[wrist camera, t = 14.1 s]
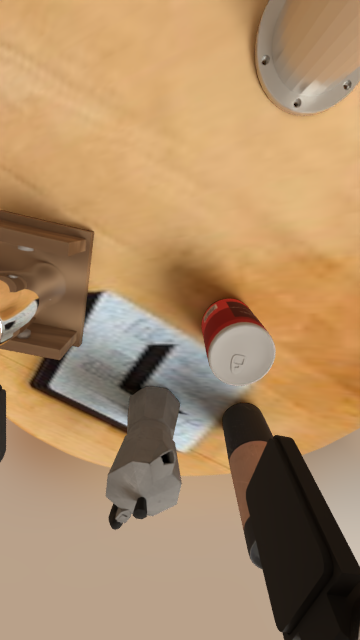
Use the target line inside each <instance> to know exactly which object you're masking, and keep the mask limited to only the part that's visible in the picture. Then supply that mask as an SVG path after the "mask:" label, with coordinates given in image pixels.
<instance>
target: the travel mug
mask: <svg viewBox="0 0 360 640" xmlns="http://www.w3.org/2000/svg"><path fill="white" fill-rule="evenodd" d="M222 422H223V430H224V436H225V442H226V447H227V453H228V459H229V465H230V470H231V474H232V479H233V484H234V488H235V493H236V497H237V502H238V506H239V511H240V516H241V521H242V525H243V530H244V534H245V539H246V544H247V548H248V553H249V556H250V559H251V560H252V562H253V563H254V564H255V565H256V566H257V567H259V568H261V569H262V565H261V561H260V556H259V552H258V548H257V544H256V540H255V535H254V531H253V527H252V523H251V519H250V514H249V510H248V506H247V502H246V489H247V486H248V484H249V482H250V480H251V477H252V475H253V473H254V471H255V468H256V466H257V464H258V462H259V460H260V457H261V455H262V453H263V451H264V448H265V446H266V444H267V442H268V440H269V439H270V438H273V435H272V433H271V431H270V429H269V427H268V425H267V423H266V421H265V419H264V417H263V415H262V413H261V411H260V410H259V409H258V408H257V407H256V406H254V405H252V404H248V403H239V404H236V405H233V406H231V407H230V408H229V409H228V410H227V411H226V412H225V413H224V415H223V420H222Z"/></svg>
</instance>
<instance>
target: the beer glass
mask: <svg viewBox="0 0 360 640" xmlns="http://www.w3.org/2000/svg"><path fill="white" fill-rule="evenodd" d="M65 293H66V281H65V278H64V276H63V274H62V273H61V272H60V271H59V270H58V269H57V268H56V267H55V266H53V265H51V264H49V263H45V262H35V263H32V264H30V265H28V266H27V267H26V268H24V269H23V270H18V271H0V346H1V345H3V344H4V343H6V342H8V341H10V340H11V339H13V338H14V337H16V336H17V335H19V334H20V333H22V332H23V331H24V330H25V329H27V328H28V327H29V326H30V325H31V324H32V323H33V322H34V321H35V319H36V318H37V317H38V316H39V314H40V313H41V312H42V310H43V309H44V308H45V307H47V306H51V305H54V304H56V303H58V302H60V301H61V300H62V299H63V297H64V296H65Z"/></svg>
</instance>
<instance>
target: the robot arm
mask: <svg viewBox="0 0 360 640" xmlns="http://www.w3.org/2000/svg"><path fill="white" fill-rule="evenodd" d="M262 62H264V63H265V65H263V64H262ZM255 65H256V70H257V74H258V78H259V81H260V83H261V86H262V89H263V90H264V92H265V93H266V95H267V97H268V98H269V99H270V100H271V101H272V102H273V103H274V104H275V105H276V106H277V107H278V108H280V109H281V110H283V111H284V112H287V113H290V114H293V115H299V116H309V115H315V114H318V113H321V112H324V111H326V110H328V109H330V108H331V107H333V106H335V105H336V104H337V103H339V102H340V101H341V100H343V99H344V98H345V97H346V96H347V95H348V94H349V93H350V92H351V91H352V90H353V89H354V88H355V86H356V85H357V84H358V82H359V81H360V0H269V1H268V3H267V5H266V7H265V9H264V12H263V15H262V17H261V20H260V23H259V27H258V31H257V35H256V43H255ZM344 88H345V89H344ZM294 104H296V107H294ZM5 451H6V391H5V390H4V389H2V386H1V385H0V462H1V460H2V459H3V456H4V454H5ZM246 502H247V506H248V510H249V514H250V519H251V523H252V527H253V531H254V535H255V540H256V544H257V548H258V552H259V556H260V561H261V565H262V569H263V573H264V577H265V581H266V586H267V590H268V594H269V598H270V602H271V606H272V611H273V615H274V619H275V623H276V626H277V628H278V630H279V631H280V632H283V636H284V640H360V566H359V565H358V563H357V561H356V559H355V557H354V555H353V553H352V551H351V549H350V547H349V546H348V543H347V542H346V540H345V538H344V536H343V534H342V532H341V530H340V528H339V526H338V524H337V522H336V520H335V518H334V517H333V515H332V513H331V511H330V509H329V507H328V505H327V503H326V501H325V499H324V497H323V496H322V494H321V492H320V490H319V488H318V486H317V484H316V482H315V480H314V478H313V476H312V474H311V472H310V470H309V469H308V467H307V465H306V463H305V461H304V459H303V457H302V455H301V453H300V451H299V449H298V447H297V446H296V444H295V442H294V440H293V439H292V438H290V437H284V436H279V435H275V436H274V437H273V438H270V439H269V440H268V442H267V444H266V446H265V448H264V451H263V453H262V455H261V457H260V460H259V462H258V464H257V466H256V468H255V471H254V473H253V475H252V477H251V480H250V482H249V484H248V486H247V489H246Z"/></svg>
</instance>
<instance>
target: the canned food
mask: <svg viewBox="0 0 360 640" xmlns="http://www.w3.org/2000/svg"><path fill="white" fill-rule="evenodd" d="M202 333H203V338H204V343H205V348H206V353H207V358H208V362H209V366H210V368H211V370H212V372H213V373H214V375H215V376H216V377H217V378H218V379H219V380H221V381H222V382H224V383H226V384H229V385H234V386H243V385H248V384H251V383H254V382H256V381H258V380H259V379H261V378H262V377H263V376H264V375H265V374H267V372H268V371H269V370H270V368H271V366H272V364H273V362H274V359H275V345H274V342H273V340H272V338H271V336H270V334H269V333H268V332H267V330H266V329H265V328H264V326H263V325H262V324H261V323H260V321H259V320H258V319H257V318H256V316H255V315H254V314H253V313H252V312H251V310H250V309H249V308H248V307H247V306H246V305H245V304H244V303H243V302H241V301H239V300H236V299H222V300H219V301H217V302H215V303H213V304H212V305H211V306H210V307H209V308H208V309H207V311H206V312H205V314H204V316H203V319H202Z"/></svg>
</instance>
